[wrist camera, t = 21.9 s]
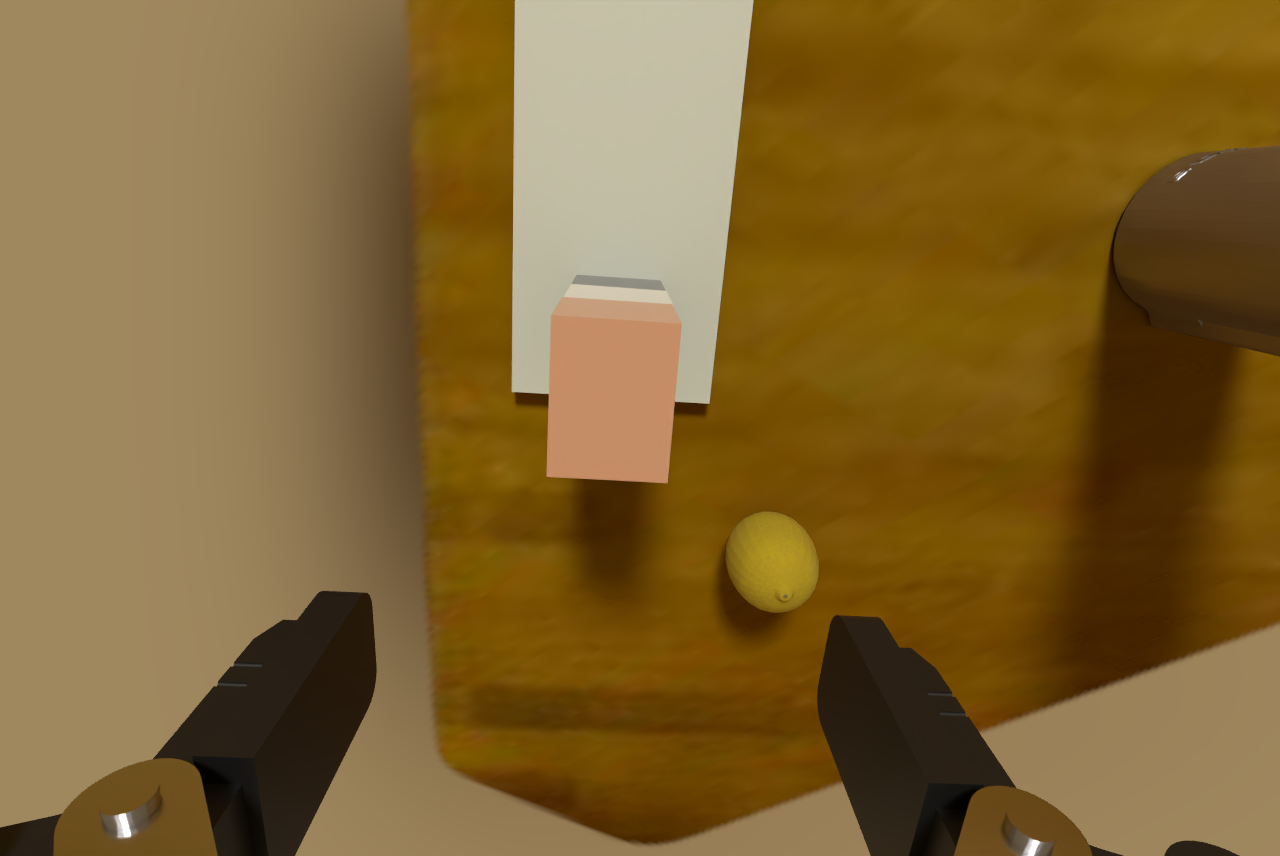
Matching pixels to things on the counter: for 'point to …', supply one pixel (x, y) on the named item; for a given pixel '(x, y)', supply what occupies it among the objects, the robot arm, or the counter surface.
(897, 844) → the robot arm
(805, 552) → the lemon
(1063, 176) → the counter surface
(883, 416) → the counter surface
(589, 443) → the terracotta brick
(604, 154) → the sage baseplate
